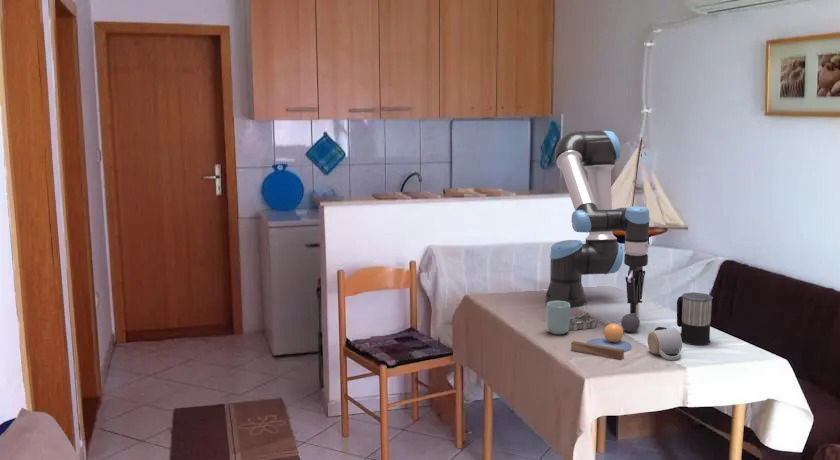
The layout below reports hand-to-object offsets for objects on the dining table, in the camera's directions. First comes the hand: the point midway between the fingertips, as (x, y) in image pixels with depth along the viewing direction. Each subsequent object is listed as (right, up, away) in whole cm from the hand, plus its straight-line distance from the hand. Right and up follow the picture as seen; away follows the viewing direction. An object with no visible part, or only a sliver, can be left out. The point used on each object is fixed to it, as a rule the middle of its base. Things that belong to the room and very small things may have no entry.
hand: (634, 321), depth 259 cm
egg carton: (-18, -2, +2) cm, 18 cm away
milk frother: (+11, -5, -15) cm, 19 cm away
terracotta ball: (-11, -2, -15) cm, 19 cm away
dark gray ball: (-2, 0, -5) cm, 5 cm away
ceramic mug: (+2, -7, -28) cm, 28 cm away
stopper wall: (-18, -7, -26) cm, 33 cm away
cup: (-26, -3, -4) cm, 27 cm away
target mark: (-13, -5, -18) cm, 23 cm away
